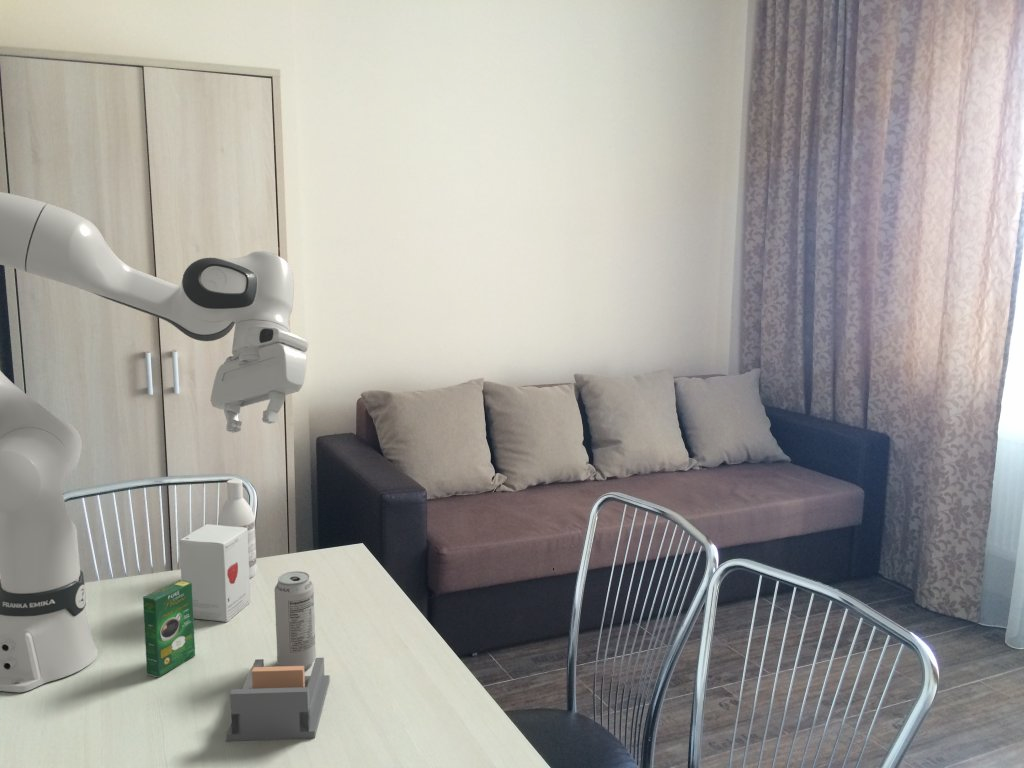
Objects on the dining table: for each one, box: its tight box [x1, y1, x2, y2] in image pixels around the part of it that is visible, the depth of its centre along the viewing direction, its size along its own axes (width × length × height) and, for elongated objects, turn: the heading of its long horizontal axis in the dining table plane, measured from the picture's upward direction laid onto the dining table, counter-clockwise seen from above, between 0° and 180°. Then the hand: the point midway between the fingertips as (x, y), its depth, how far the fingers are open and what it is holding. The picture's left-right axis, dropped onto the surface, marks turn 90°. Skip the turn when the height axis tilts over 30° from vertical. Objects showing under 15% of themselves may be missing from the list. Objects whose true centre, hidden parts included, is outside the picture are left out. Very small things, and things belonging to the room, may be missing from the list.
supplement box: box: [179, 523, 251, 623], centre depth 154 cm, size 9×9×15 cm
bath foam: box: [217, 478, 258, 579], centre depth 169 cm, size 7×7×20 cm
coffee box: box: [142, 579, 196, 678], centre depth 134 cm, size 8×3×13 cm, turn 156°
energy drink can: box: [274, 570, 317, 671], centre depth 135 cm, size 6×6×15 cm
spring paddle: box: [252, 665, 306, 689], centre depth 121 cm, size 7×1×6 cm, turn 94°
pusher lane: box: [225, 657, 331, 742], centre depth 123 cm, size 12×15×7 cm
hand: (250, 427), depth 134 cm, fingers open, 8 cm apart
